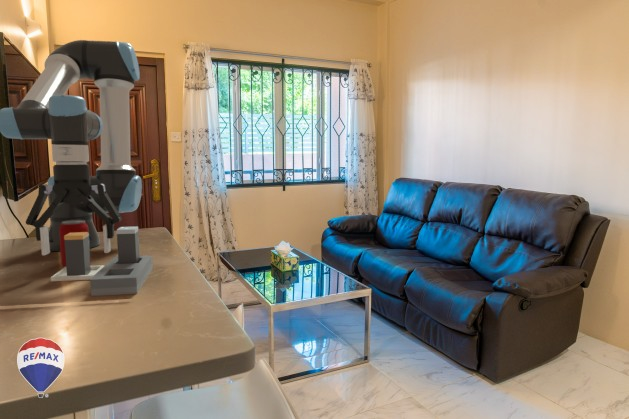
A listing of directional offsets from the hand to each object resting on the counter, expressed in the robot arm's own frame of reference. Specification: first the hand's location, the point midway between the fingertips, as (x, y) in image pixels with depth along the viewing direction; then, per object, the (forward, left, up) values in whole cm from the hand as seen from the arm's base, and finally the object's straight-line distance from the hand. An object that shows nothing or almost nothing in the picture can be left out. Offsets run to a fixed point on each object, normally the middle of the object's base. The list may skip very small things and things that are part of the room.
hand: (77, 253), depth 105 cm
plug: (0, 0, -5) cm, 5 cm away
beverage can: (-11, -4, -6) cm, 14 cm away
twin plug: (+2, +12, -4) cm, 13 cm away
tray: (0, 0, -6) cm, 6 cm away
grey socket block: (+7, +12, -6) cm, 15 cm away
